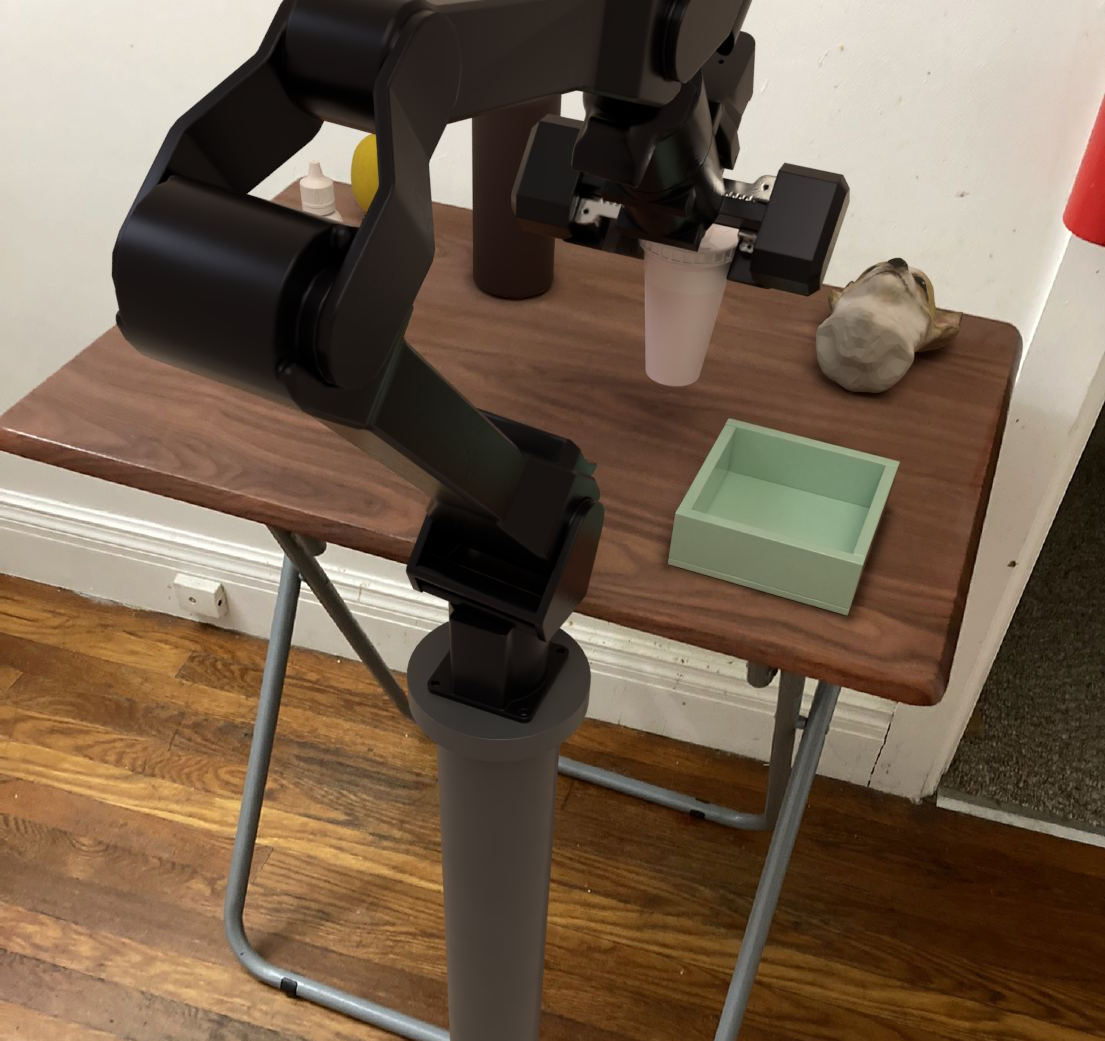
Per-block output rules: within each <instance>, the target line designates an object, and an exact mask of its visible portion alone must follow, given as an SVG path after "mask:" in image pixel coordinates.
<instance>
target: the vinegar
mask: <svg viewBox="0 0 1105 1041" xmlns="http://www.w3.org/2000/svg"><path fill="white" fill-rule="evenodd" d="M562 95H563V94H562ZM562 95H558V96H555V97H551V98H547V99H543V100H539V101H535V102H532V103H528V104H524V105H520V106H516V107H512V108H508V109H505V110H501V111H497V112H493V113H489V114H485V115H482V116H478V117H474V118H471V174H472V175H471V188H472V189H471V190H472V193H471V194H472V197H471V198H472V199H471V200H472V202H471V203H472V204H471V205H472V207H471V208H472V277H473V281H474V282H475V284H476V285H477V286H478V287H479V288H481V289H482V290H483V291H484V292H485V293H489V294H491V295H494V296H498V297H503V298H516V299H520V298H527V297H533V296H536V295H540V294H541V293H542V292H544V291H546V290H548V289H549V288H550V286H551V285H552V283H553V281H554V273H555V272H554V271H555V269H554V268H555V251H556V238H554V237H549V236H545V235H541V234H536V233H532V232H528V231H524V230H523V228H522V226H521V225H520V223H519V221H518V220H517V218H516V216H515V214H514V212H513V210H512V208H511V194H512V190H513V187H514V184H515V181H516V177H517V174H518V171H519V168H520V165H521V161H522V158H523V155H524V152H525V149H526V146H527V142H528V139H529V136H530V133H531V130H532V127H534V126H535V125H536V124H537V123H538V122H539V121H540V120H541V119H542V118H544V117H545V116H546V115H547V114H552V115H557V116H562Z"/></svg>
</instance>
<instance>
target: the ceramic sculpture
mask: <svg viewBox="0 0 1105 1041" xmlns="http://www.w3.org/2000/svg"><path fill="white" fill-rule="evenodd" d="M935 299H936V298H935V289H934V285H933V283H932V281H931V279H930V278H929V277H928V275H926V273H925V272H924V271H923V270H920V269H919V268H917V267H914V266H910V265H909V264H908V263H907V261H906V260H905V259H904V258H902V257H893V258H890V259H888V260H887V261H881V262H877V263H876V264H873V265H871V266H869V267H867V268H866V269H864V271H863V272H862V273H861V274H860V275H859V276H858V277H857V279H855V280H850V281H849V282H848V283H847V284H846V285H845V287H844V288H843V289H841V290H835V289H832V290H830V291H829V293H828V295H827V302H828V306H829V310H830V312H831V314H830V316H829V317H828V318H826V319H825V320H824V321H823V322H822V323H821V324H819V325H818V327H817V328H816V332H815V353H816V358H817V362H818V364H819V368H820V369H821V371H822V373H823V374H824V375H825V376H826V377H827V378H828V379H829V380H831V381H833V382H835V383H836V384H838V385H839V386H840V387H842V388H844V389H845V390H847V391H849V392H853V393H872V394H877V393H884V392H886V391H888V390H890V389H891V388H892V387H894V386H895V385H896V384H897V383H898V382H900V381H901V380H902V379H903V377H904V376H905V375H906V374H907V372H908V370H909V369H910V368H911V366H912V365H913V363H914V360H915V353H922V352H927V351H932V350H938V349H941V348H944V347H946V346H947V345H948V344H950V343H952V341H954V340H955V339H956V338H957V336H958V335H959V333H960V331H961V324H962V321H963V316H964V312H963V311H957V312H951V313H950V312H949V313H946V312H944V311H943V310H939V309H937V306H936V300H935Z"/></svg>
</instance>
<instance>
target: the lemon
mask: <svg viewBox="0 0 1105 1041" xmlns="http://www.w3.org/2000/svg"><path fill="white" fill-rule="evenodd" d="M350 186H351V190H352V193H353V195H354V196H353V197H354V198H355V200H356V203H357V204H358V206H359V208H361V210H362V211H363V212H364V213H365V214H366V213H367V210H368V208H369V206H370V204H371V202H372V200H373V198H374V196H375V194H376V192H377V190H378V186H379V180H378V163H377V147H376V135H375V134H371V133H369V134H368V135H367V136H365V137H363V139H361V140H360V142H359V143H358V144H357V145H356V147H355V149H354V151H353V155H352V159H351V166H350Z"/></svg>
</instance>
